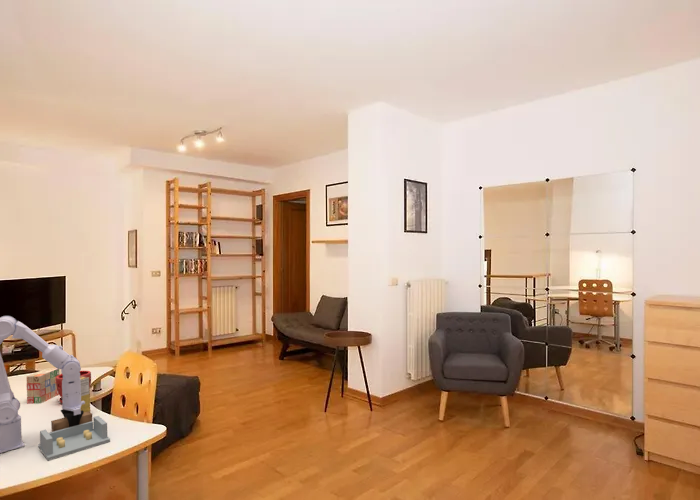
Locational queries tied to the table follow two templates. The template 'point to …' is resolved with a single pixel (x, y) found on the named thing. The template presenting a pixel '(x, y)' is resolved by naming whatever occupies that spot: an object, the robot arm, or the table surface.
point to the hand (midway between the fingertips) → (72, 429)
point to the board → (64, 423)
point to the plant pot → (60, 378)
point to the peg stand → (73, 439)
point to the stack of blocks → (42, 385)
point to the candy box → (85, 393)
